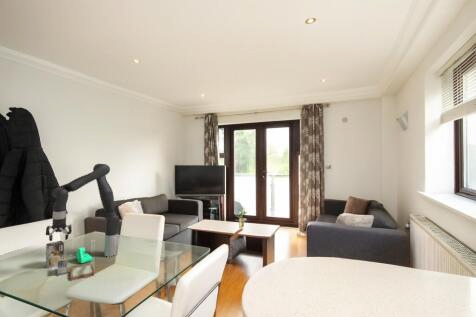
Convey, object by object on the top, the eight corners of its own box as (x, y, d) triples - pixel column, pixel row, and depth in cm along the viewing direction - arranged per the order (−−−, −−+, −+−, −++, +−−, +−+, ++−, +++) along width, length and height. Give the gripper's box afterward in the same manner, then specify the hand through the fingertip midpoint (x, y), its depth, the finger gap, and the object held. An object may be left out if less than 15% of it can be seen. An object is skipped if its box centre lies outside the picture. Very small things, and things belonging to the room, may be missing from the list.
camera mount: (92, 261, 183) (93, 248, 183) (81, 264, 177) (82, 251, 177) (86, 256, 190) (87, 243, 190) (75, 259, 184) (76, 246, 184)
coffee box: (60, 261, 179) (61, 240, 179) (63, 264, 175) (64, 242, 175) (45, 265, 172) (46, 243, 171) (48, 268, 168) (49, 246, 167)
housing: (66, 268, 170) (66, 259, 170) (66, 274, 163) (67, 264, 163) (57, 270, 167) (57, 261, 167) (57, 276, 160) (57, 266, 160)
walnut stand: (91, 267, 174) (92, 264, 174) (93, 275, 164) (94, 272, 164) (70, 271, 167) (70, 268, 166) (70, 280, 156) (70, 277, 156)
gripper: (73, 215, 170) (72, 237, 171) (48, 216, 165) (48, 239, 166) (70, 218, 163) (69, 241, 164) (44, 219, 158) (43, 243, 159)
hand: (58, 240), depth 165 cm, fingers open, 8 cm apart
